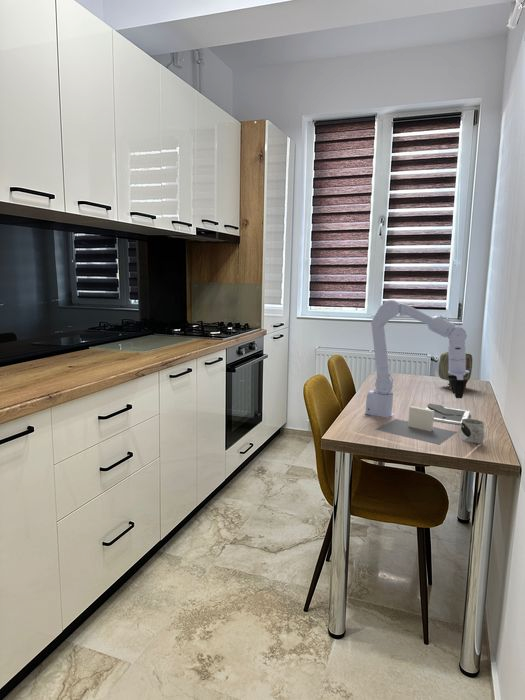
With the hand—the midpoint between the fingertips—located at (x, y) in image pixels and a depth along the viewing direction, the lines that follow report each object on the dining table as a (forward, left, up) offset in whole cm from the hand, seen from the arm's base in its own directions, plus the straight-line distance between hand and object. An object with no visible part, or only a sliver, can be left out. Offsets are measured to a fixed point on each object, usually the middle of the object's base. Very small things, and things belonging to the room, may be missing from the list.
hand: (457, 395), depth 176 cm
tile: (-6, -18, -10) cm, 22 cm away
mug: (+12, -19, -11) cm, 25 cm away
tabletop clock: (-21, +67, -11) cm, 71 cm away
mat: (-6, -22, -10) cm, 25 cm away
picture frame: (-5, +6, -11) cm, 14 cm away
